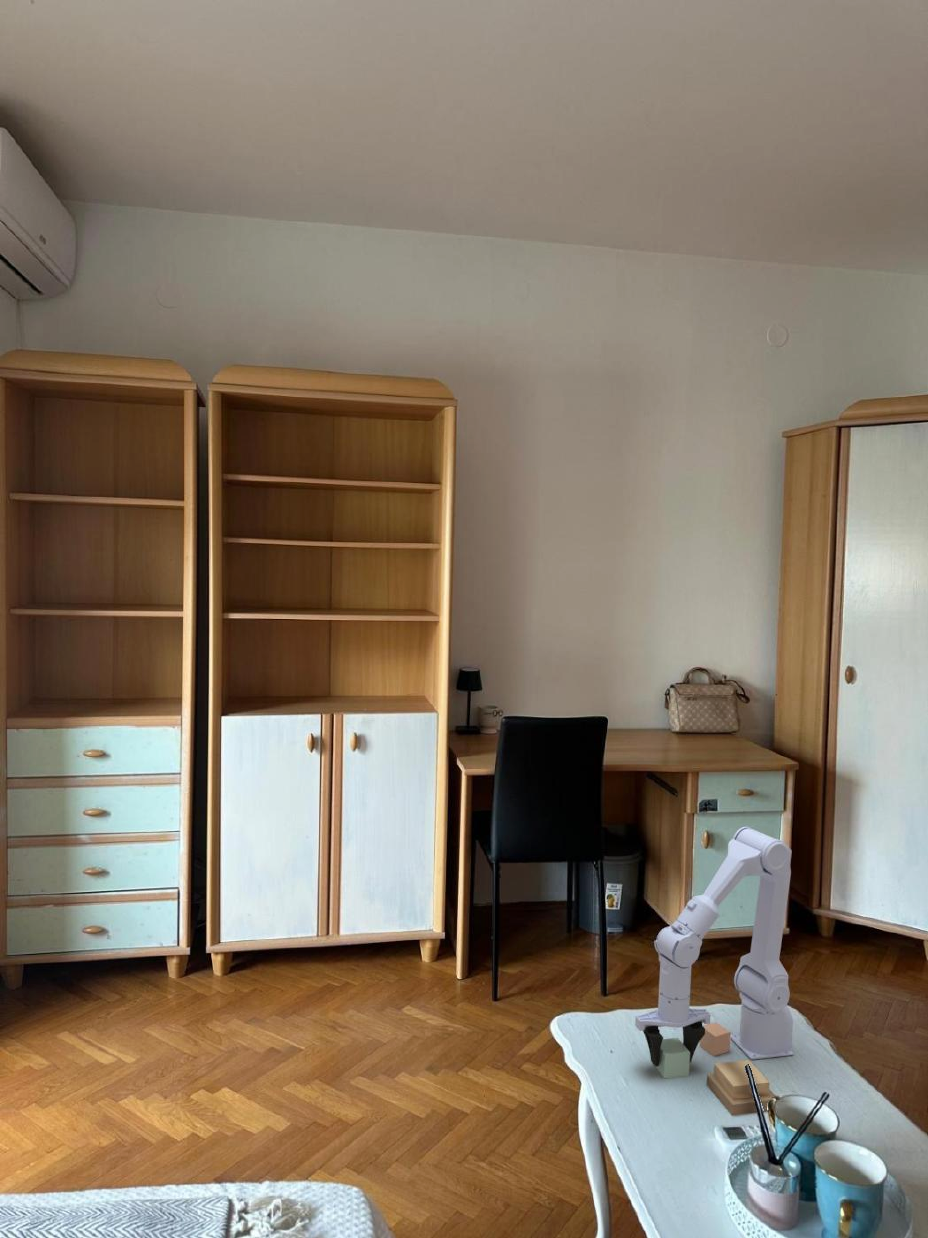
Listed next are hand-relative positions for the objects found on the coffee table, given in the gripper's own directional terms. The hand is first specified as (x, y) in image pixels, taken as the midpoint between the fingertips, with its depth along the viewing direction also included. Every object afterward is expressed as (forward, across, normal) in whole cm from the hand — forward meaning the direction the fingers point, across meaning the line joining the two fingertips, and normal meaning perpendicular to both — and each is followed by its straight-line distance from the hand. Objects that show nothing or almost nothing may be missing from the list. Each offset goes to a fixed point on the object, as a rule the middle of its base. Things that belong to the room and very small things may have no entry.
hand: (670, 1061), depth 164 cm
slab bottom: (+2, -9, +10) cm, 14 cm away
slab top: (0, -9, +10) cm, 13 cm away
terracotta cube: (+2, -12, -5) cm, 13 cm away
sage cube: (+2, 0, 0) cm, 2 cm away
